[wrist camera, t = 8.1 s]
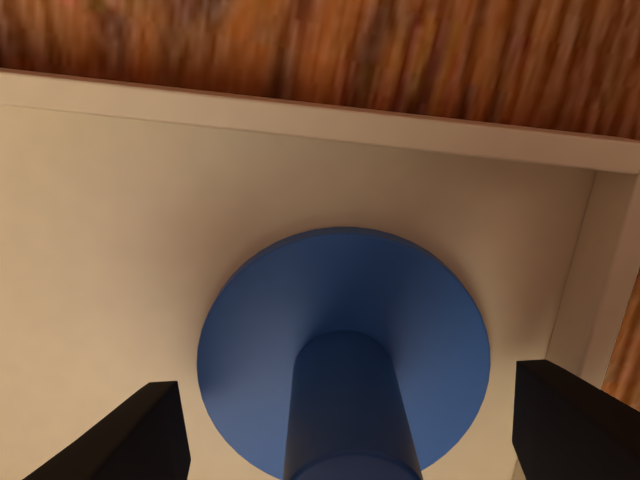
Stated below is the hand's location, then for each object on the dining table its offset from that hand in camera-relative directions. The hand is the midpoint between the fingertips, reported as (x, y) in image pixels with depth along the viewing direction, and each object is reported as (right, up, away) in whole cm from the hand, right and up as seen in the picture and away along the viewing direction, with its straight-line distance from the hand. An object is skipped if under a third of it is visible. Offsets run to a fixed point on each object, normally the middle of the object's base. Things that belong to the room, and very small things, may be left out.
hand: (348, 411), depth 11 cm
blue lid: (0, +1, +2) cm, 2 cm away
